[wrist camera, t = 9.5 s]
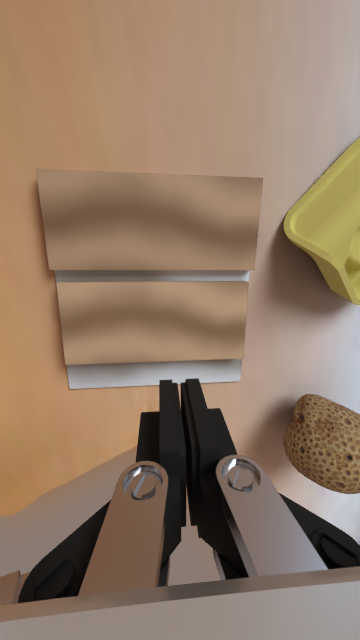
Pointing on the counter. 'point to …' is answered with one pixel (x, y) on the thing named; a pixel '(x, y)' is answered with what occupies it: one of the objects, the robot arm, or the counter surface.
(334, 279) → the plastic component
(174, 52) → the counter surface
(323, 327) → the counter surface
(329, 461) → the natural sponge
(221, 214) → the laid floor
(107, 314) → the plank
